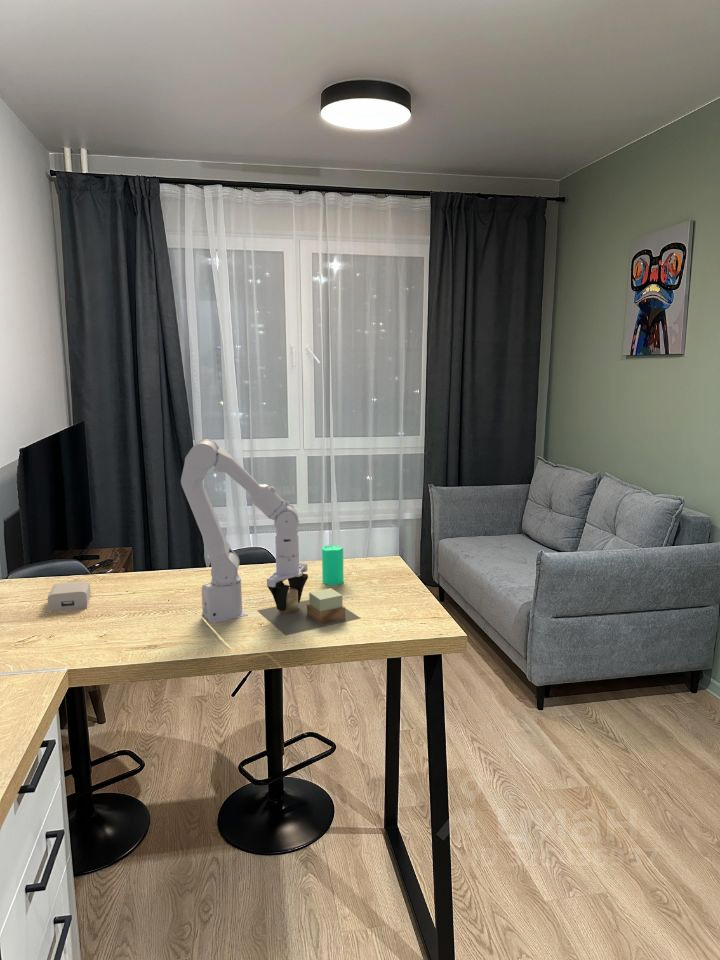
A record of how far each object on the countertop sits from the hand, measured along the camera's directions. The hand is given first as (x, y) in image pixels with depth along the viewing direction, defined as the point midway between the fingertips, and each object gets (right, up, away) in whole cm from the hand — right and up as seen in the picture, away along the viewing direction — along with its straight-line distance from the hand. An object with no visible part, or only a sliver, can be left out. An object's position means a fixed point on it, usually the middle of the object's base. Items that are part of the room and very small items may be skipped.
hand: (288, 605), depth 168 cm
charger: (-59, -1, +10) cm, 60 cm away
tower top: (+10, +1, -5) cm, 11 cm away
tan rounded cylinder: (0, -1, 0) cm, 1 cm away
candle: (+10, +2, +22) cm, 24 cm away
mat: (+5, -2, -2) cm, 6 cm away
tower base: (+10, -2, -5) cm, 11 cm away
